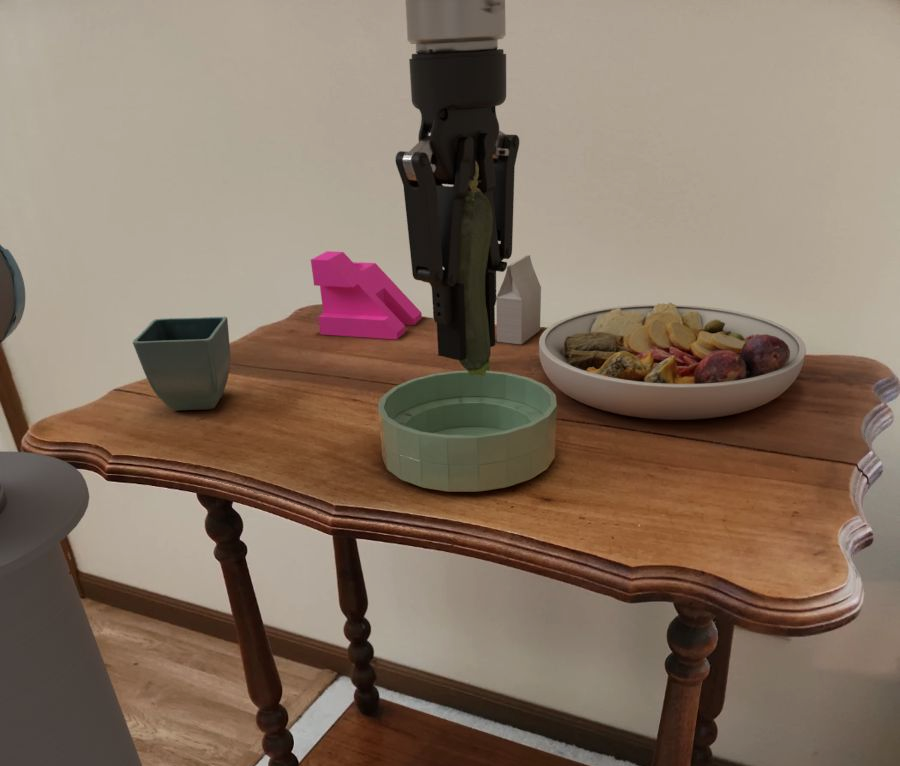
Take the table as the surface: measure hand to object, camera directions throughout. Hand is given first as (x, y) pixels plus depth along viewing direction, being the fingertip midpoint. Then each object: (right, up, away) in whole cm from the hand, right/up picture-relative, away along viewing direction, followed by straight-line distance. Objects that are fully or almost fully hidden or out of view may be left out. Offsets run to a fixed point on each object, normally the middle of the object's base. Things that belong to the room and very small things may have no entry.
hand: (467, 349), depth 76 cm
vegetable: (0, -2, +1) cm, 3 cm away
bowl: (+24, +3, +22) cm, 33 cm away
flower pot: (-32, 0, +22) cm, 38 cm away
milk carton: (+8, +14, +38) cm, 41 cm away
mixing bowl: (0, -9, +6) cm, 11 cm away
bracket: (-13, +17, +45) cm, 50 cm away
